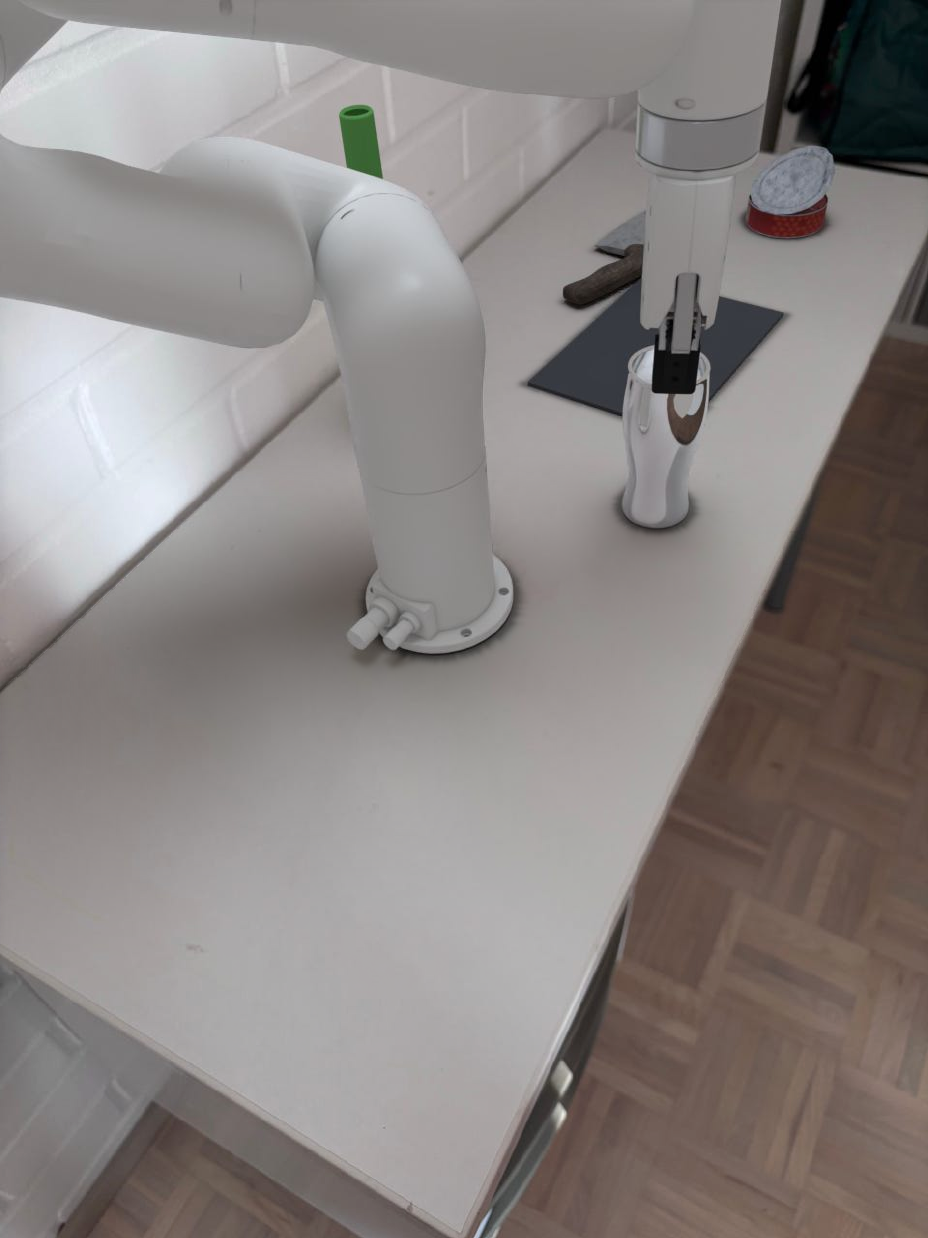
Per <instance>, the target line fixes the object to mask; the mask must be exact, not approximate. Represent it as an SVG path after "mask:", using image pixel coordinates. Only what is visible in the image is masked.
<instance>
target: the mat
mask: <svg viewBox="0 0 928 1238" xmlns="http://www.w3.org/2000/svg"><path fill="white" fill-rule="evenodd" d="M641 286H642V277H639V279H638V280H637V281H635V283H634V284H633V285H632V286H630V288H628V289H627V290H626V291H625V292H623V294H622V295H620V296H619V297H618V298H617V300H615V301H614V302H613V303H612V304H611V305H609V306H608V308H606V309H605V310H604V311H603V312H602V313H601V314H600V315H599V316H597V318H595V320H594V321H592V322H591V323H590V324H589V325H588V326H587V327H586V328H585V329H583V330H582V331H581V332H580V333H579V334H578V335H577V336H576V337H575V338H574V339H573V340H572V341H571V342H570V343H568V344H567V345H566V346H564V348H562V349H561V351H560V352H558V354H555V356H554V357H553V358H551V360H550V361H548V363H546V364H545V365H544V366H543V367H542V368H541V369H540V370H539V371H537V373H536V374H534V376H532V377H531V378H530V379H529V380H528V381H527V386H530V387H532V388H535V389H539V390H542V391H545V392H548V393H550V394H554V395H556V396H560V397H563V398H566V399H569V400H572V401H575V402H578V403H581V404H585V405H587V406H589V407H594V408H596V409H600V410H603V411H606V412H608V413H612V414H614V415H618V416H621V417H623V400H624V391H625V384H626V378H627V372H628V363H629V360H630V358H631V357H632V356H633V355H634V354H635V353H636V352H638V351H639V350H641V349H643V348H646V347H649V346H653V345H655V334H656V335H659V328H650V329H649V330H648V329H645V328H644V327H643V326H642V324H641V323H640V310H641ZM783 317H784V312H783V311H779V310H775V309H771V308H767V307H763V306H759V305H755V304H752V303H748V302H744V301H740V300H736V299H732V298H729V297H723V296H720V295H719V300H718V305H717V311H716V316H715V321H714V324H713V325H712V326H711V327H709V328H708V329H706V330H704V326H701V329H700V343H701V348H700V352H701V353H702V354H703V355H705V356H706V358H707V359H708V360H709V362H710V376H709V399H708V402H709V401H710V400H711V399H712V398H713V397H714V396H715V394H717V392H718V391H719V390H720V389H721V388H722V387H723V385H724V384H725V383H726V382H727V381H728V380H729V379H730V377H731V376H733V374H734V373H735V371H736V370H738V368H739V367H740V366H741V365H742V364H743V362H744V361H745V360H746V359H747V358H748V357H749V356H750V354H751V353H752V352H753V351H754V350H755V349H756V348H757V346H758V345H759V344H760V343H761V342H762V340H763V339H765V337H766V336H767V334H768V333H769V332H770V331H771V330H772V329H773V328H774V327H775V326H776V325H777V324H778V323H779V321H780V320H781V318H783Z"/></svg>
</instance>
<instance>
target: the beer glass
mask: <svg viewBox="0 0 928 1238" xmlns="http://www.w3.org/2000/svg"><path fill="white" fill-rule="evenodd" d="M653 358H654V345H653V346H649V347H646V348H643V349H641V350H639V351H638V352H636V353H635V354H634V355H633V356H632V357H631V358H630V360H629V363H628V372H627V378H626V384H625V391H624V400H623V416H622V421H621V422H622V431H623V433H622V435H623V441H624V448H625V454H626V455H625V456H626V461H627V462H626V463H627V481H626V486H625V489H624V492H623V495H622V499H621V509H622V513H623V514H624V515H625V517H626V518H627V519H628V520H629V521H630V522H631V523H634V524H635V525H637V526H640V527H643V528H647V529H665V528H671V527H673V526H675V525H677V524H679V523H681V522H682V521H683V520H684V519H685V518H686V516H687V514H688V513H689V508H690V503H689V492H688V483H689V476H690V471H691V468H692V465H693V462H694V459H695V457H696V454H697V452H698V449H699V445H700V443H701V439H702V437H703V433H704V430H705V426H706V422H707V415H708V406H709V401H708V399H709V376H710V362H709V360H708V359H707V358H706V356H705V355H703V354H702V353H701V352H700V357H699V365H698V373H697V382H696V390H695V392H694V393H693V394H655V393H653V392H652V370H653Z"/></svg>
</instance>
